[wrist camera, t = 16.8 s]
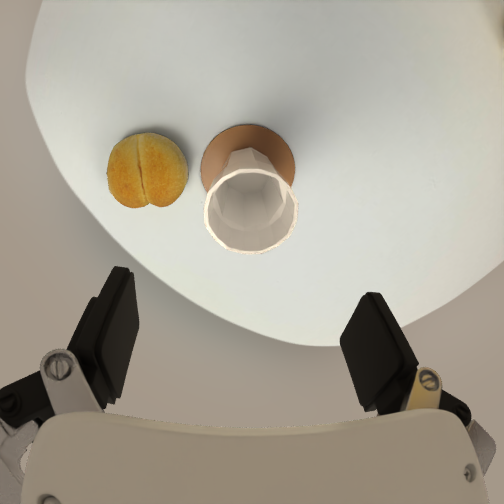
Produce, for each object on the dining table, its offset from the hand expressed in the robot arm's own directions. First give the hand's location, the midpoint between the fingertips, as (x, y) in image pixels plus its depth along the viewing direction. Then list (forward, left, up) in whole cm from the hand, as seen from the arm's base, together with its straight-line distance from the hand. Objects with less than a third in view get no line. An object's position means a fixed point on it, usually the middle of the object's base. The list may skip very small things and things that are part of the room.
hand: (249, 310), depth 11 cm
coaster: (+1, 0, -21) cm, 21 cm away
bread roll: (-10, -1, -22) cm, 24 cm away
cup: (+1, 0, -21) cm, 21 cm away
